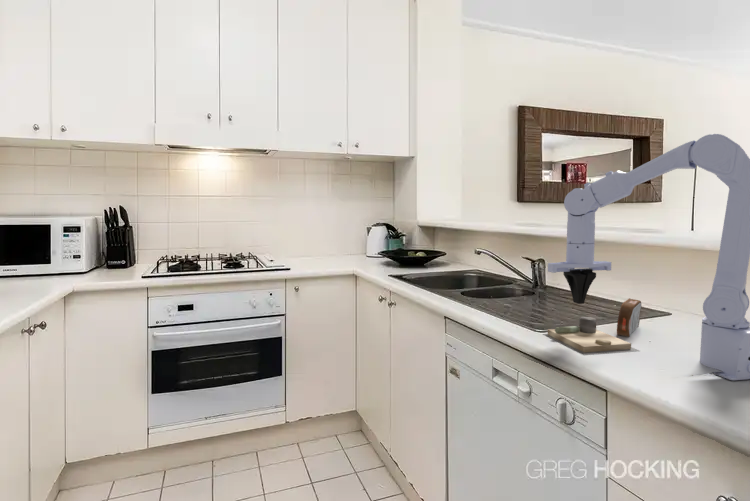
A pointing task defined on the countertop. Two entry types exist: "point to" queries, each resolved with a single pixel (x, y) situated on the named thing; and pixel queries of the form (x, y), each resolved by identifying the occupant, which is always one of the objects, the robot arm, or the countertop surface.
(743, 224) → the robot arm
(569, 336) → the plate
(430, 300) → the countertop surface
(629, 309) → the brown and grey slab
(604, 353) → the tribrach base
